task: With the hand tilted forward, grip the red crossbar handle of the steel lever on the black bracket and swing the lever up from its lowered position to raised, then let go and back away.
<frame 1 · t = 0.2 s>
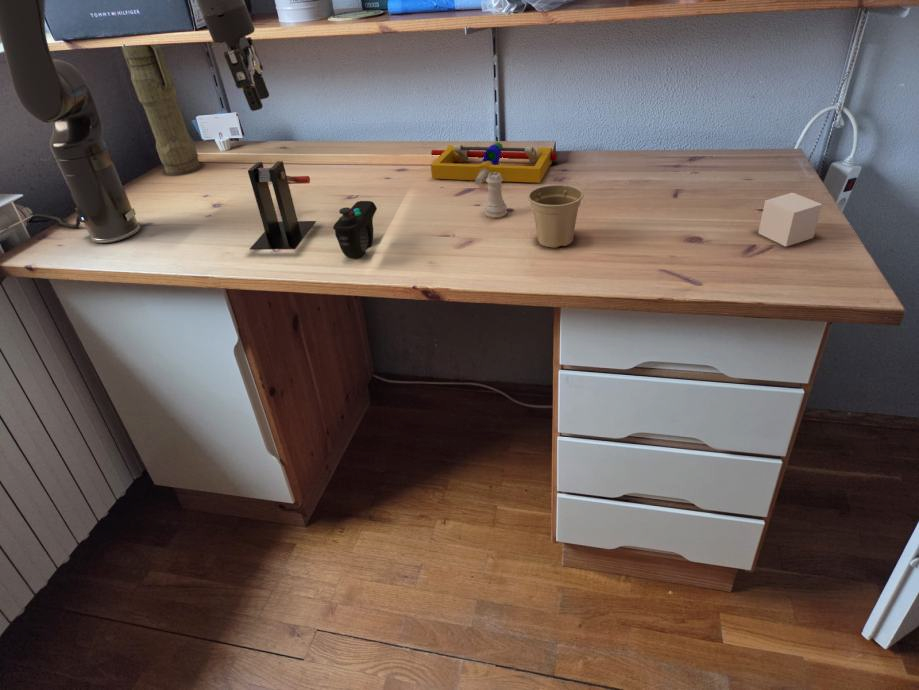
hand: (261, 103, 117), 23 cm above the table, tool pointing down, fingers open, 8 cm apart
mechanical clamp: (484, 174, 141), on the table
controller: (362, 254, 114), on the table
lever: (281, 177, 119), point 11 cm above the table, hinge at -25.0°
rook chess piece: (496, 215, 123), on the table
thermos: (183, 169, 162), on the table
bracket: (285, 240, 121), on the table
beige cube: (785, 236, 106), on the table
flower pot: (555, 241, 112), on the table
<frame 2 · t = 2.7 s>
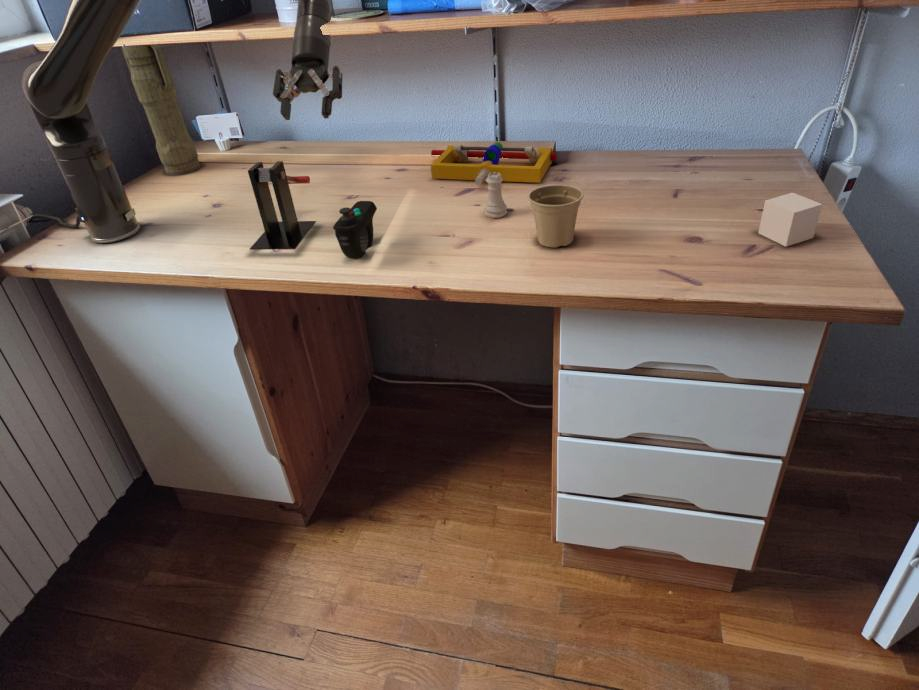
hand: (305, 117, 129), 17 cm above the table, tool tilted 45°, fingers open, 8 cm apart
nothing on the table moved.
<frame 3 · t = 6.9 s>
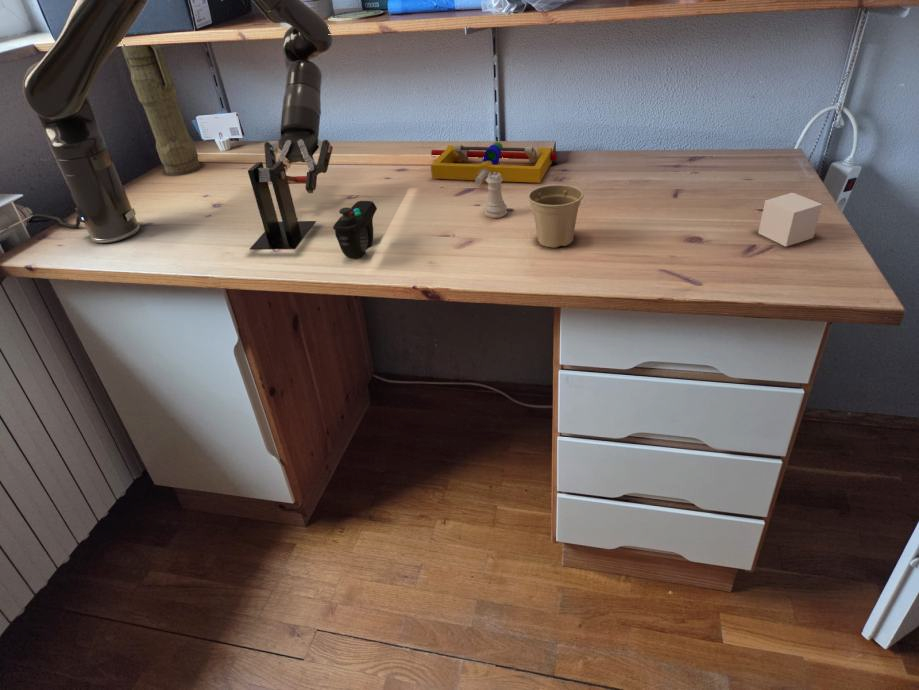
hand: (294, 191, 125), 6 cm above the table, tool tilted 45°, fingers closed on lever, 5 cm apart
lever: (281, 177, 119), point 11 cm above the table, hinge at -25.0°, touching gripper
everything else where it was.
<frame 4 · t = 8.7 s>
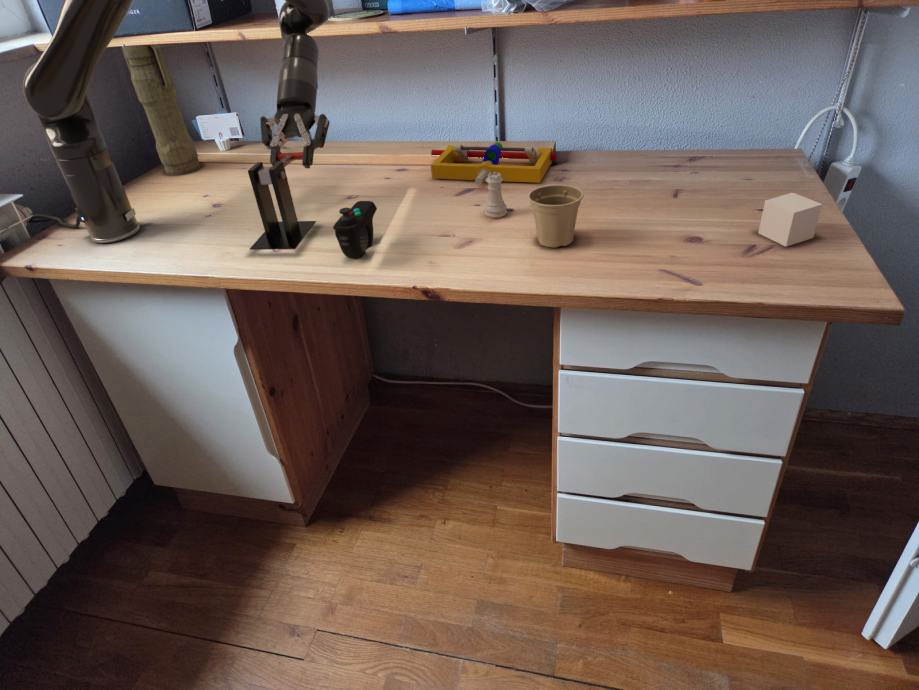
hand: (291, 166, 123), 11 cm above the table, tool tilted 45°, fingers closed on lever, 5 cm apart
lever: (279, 166, 118), point 13 cm above the table, hinge at -3.1°, touching gripper
everything else where it was.
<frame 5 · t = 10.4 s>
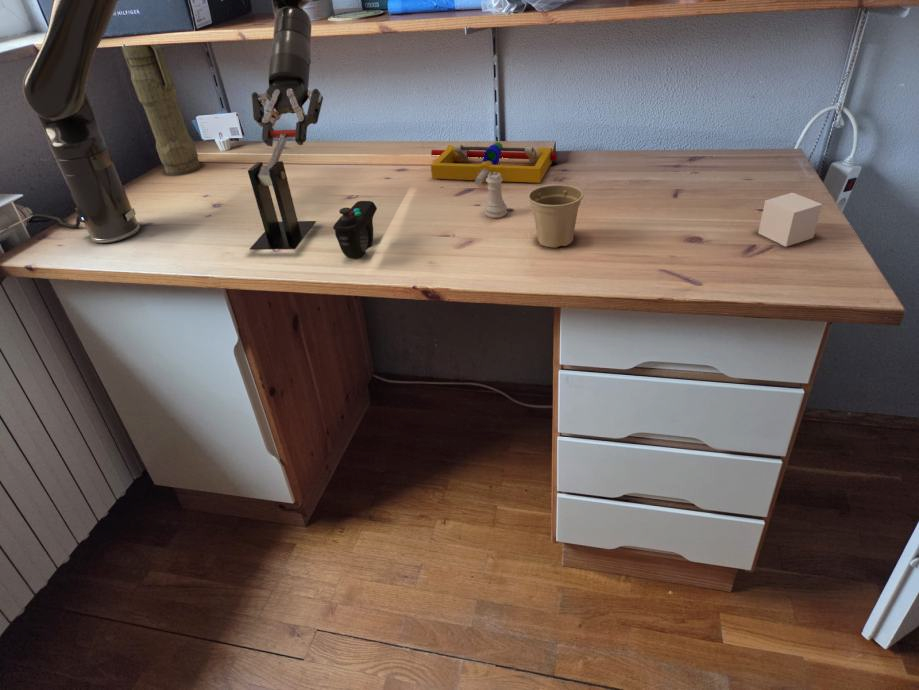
hand: (283, 143, 120), 16 cm above the table, tool tilted 45°, fingers closed on lever, 5 cm apart
lever: (276, 155, 117), point 15 cm above the table, hinge at 19.4°, touching gripper
everything else where it was.
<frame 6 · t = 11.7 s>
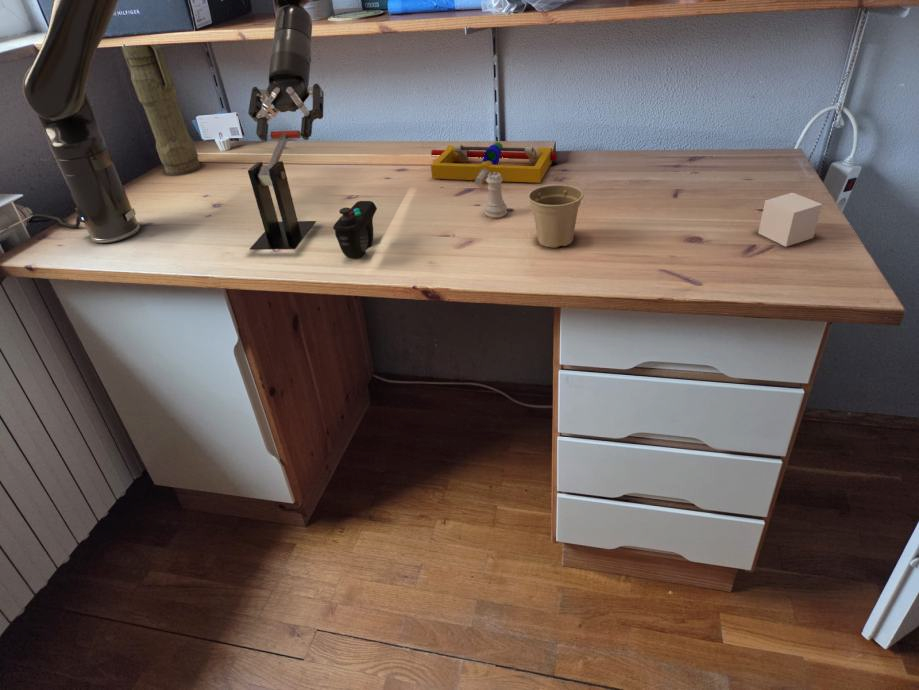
hand: (283, 138, 119), 16 cm above the table, tool tilted 45°, fingers open, 8 cm apart
lever: (276, 155, 117), point 15 cm above the table, hinge at 18.2°
everything else where it was.
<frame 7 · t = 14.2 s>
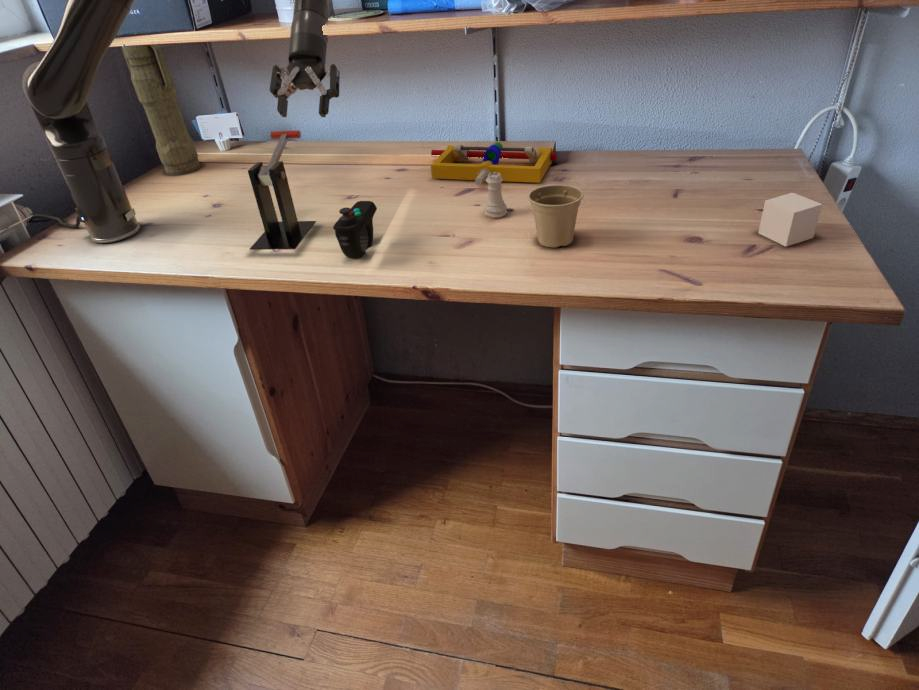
hand: (302, 115, 129), 17 cm above the table, tool tilted 40°, fingers open, 8 cm apart
nothing on the table moved.
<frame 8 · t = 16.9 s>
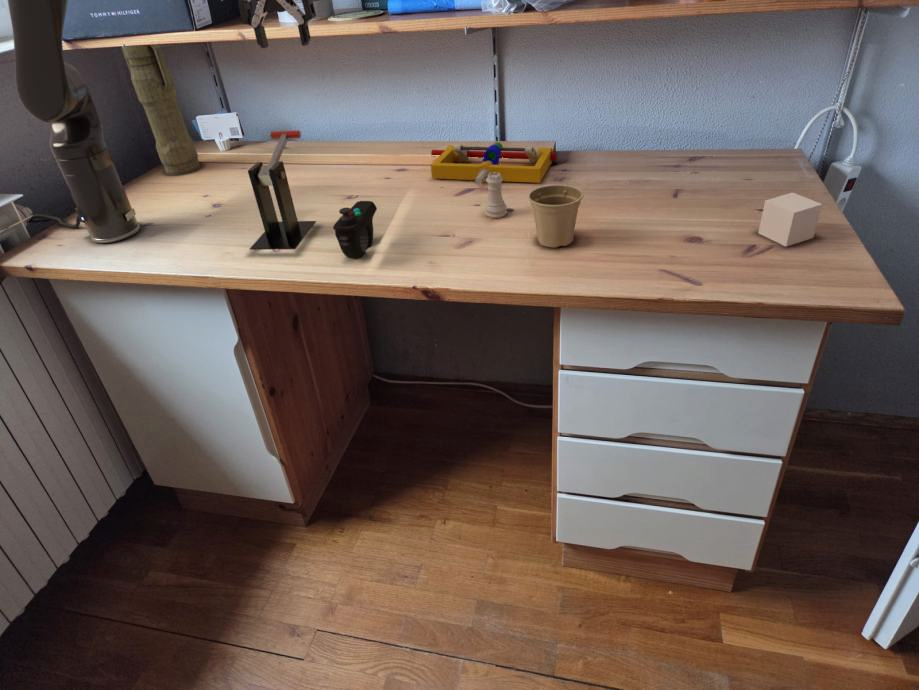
hand: (285, 46, 123), 30 cm above the table, tool pointing down, fingers open, 8 cm apart
nothing on the table moved.
at the end: lever at +18° (first picture: -25°); the gripper is holding nothing; controller moved 0.2 cm from its start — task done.
